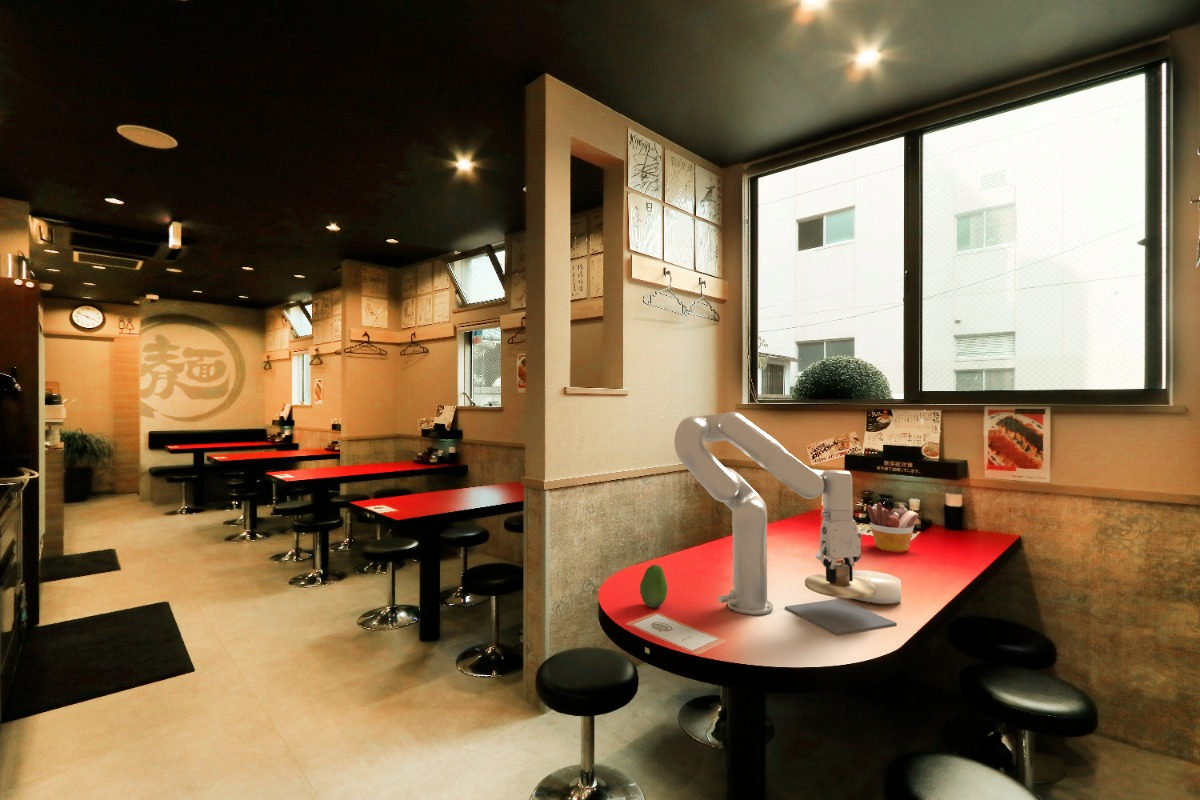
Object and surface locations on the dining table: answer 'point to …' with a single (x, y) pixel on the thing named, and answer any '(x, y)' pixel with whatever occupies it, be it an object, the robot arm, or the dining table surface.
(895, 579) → the ceramic bowl
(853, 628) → the rubber mat
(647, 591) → the avocado
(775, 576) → the dining table surface
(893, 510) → the bucket of meat
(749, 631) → the dining table surface
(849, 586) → the bamboo lid
